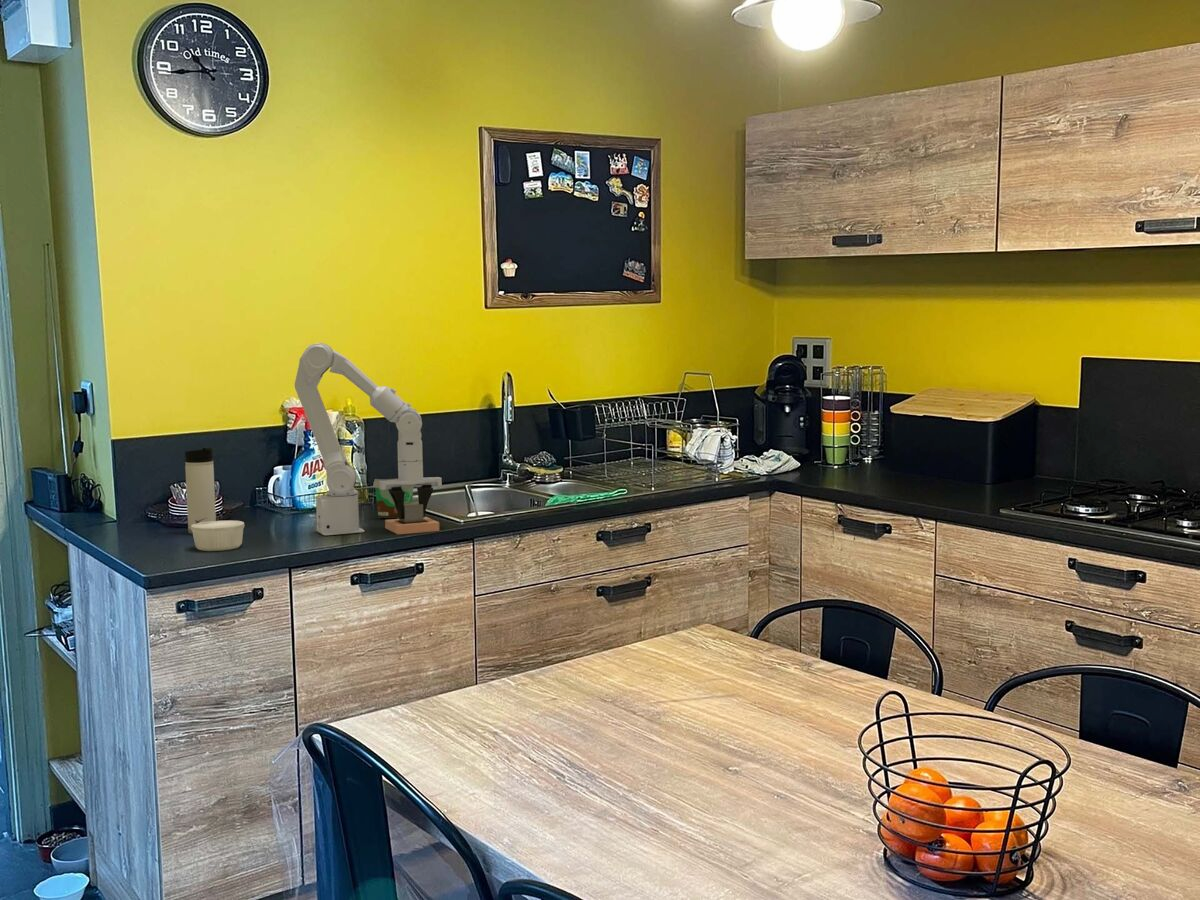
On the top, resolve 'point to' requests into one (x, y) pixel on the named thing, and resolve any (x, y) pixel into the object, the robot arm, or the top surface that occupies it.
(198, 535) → the ramekin
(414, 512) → the steel block
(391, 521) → the hole plate
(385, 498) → the food container
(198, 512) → the travel mug
